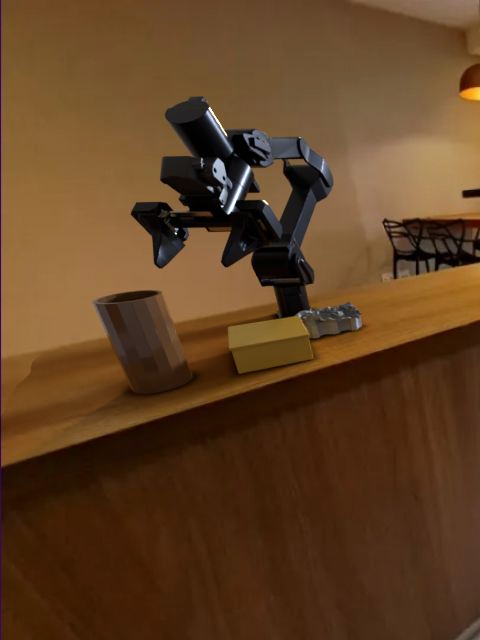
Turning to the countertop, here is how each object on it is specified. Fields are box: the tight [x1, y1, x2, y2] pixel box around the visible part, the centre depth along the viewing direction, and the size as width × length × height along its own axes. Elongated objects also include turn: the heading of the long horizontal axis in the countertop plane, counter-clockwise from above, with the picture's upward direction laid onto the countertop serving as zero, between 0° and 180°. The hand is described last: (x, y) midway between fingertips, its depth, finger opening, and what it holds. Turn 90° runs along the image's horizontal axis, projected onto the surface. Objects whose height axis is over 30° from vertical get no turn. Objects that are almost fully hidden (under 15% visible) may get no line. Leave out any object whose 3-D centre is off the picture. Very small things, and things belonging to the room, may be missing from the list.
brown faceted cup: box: [91, 289, 194, 395], centre depth 57 cm, size 7×7×12 cm
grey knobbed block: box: [295, 301, 363, 339], centre depth 79 cm, size 11×8×4 cm
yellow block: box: [227, 316, 314, 375], centre depth 68 cm, size 11×10×4 cm
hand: (190, 265), depth 60 cm, fingers open, 9 cm apart
